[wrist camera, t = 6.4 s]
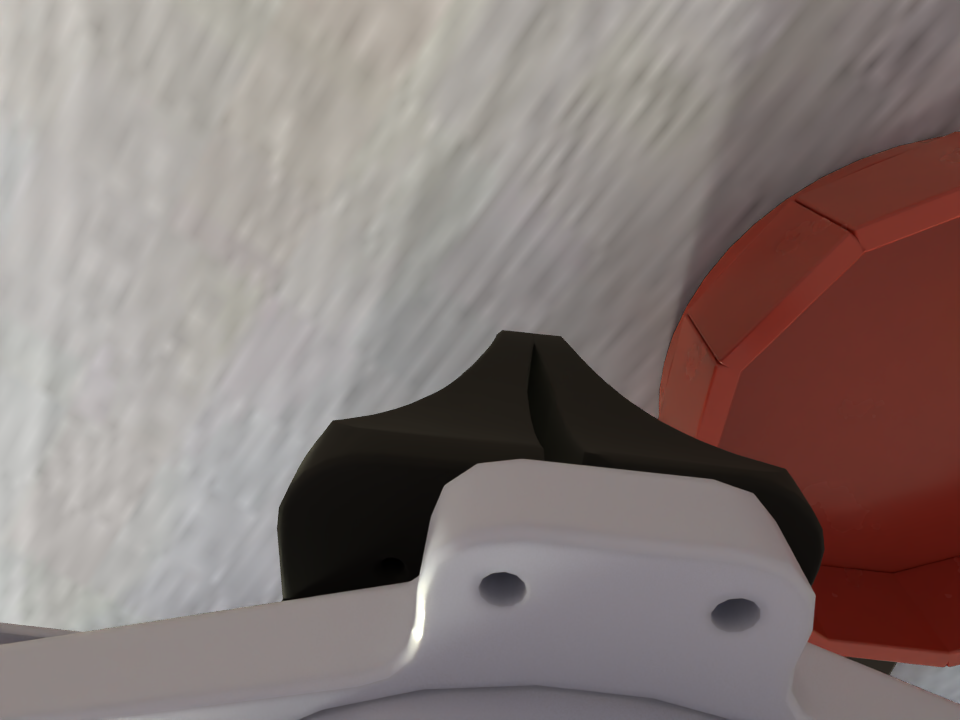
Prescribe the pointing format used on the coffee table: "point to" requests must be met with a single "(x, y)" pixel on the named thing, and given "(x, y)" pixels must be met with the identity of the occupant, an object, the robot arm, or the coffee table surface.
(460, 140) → the coffee table surface
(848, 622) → the pan
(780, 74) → the coffee table surface
